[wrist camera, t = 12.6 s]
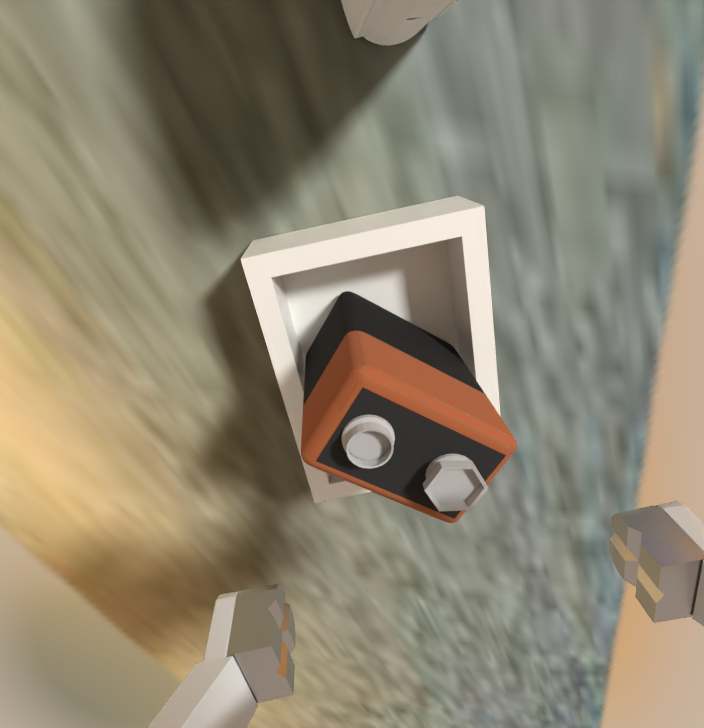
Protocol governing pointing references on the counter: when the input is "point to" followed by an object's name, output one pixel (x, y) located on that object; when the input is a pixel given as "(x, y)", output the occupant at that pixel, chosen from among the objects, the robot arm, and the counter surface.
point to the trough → (375, 293)
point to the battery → (398, 412)
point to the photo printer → (391, 18)
